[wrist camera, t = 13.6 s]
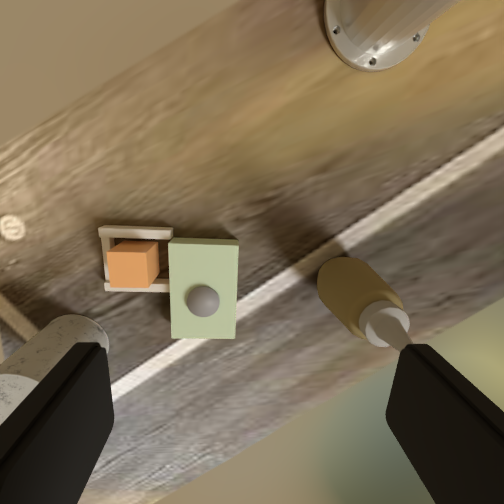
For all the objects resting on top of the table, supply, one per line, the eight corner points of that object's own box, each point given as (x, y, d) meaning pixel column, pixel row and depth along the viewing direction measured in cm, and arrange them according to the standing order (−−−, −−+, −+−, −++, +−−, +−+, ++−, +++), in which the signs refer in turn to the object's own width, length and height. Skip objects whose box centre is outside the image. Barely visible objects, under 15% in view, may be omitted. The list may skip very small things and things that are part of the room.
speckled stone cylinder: (105, 314, 40) (53, 373, 29) (112, 368, 43) (67, 442, 31) (38, 313, 40) (-44, 374, 28) (49, 368, 42) (-22, 444, 31)
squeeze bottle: (301, 291, 41) (350, 377, 24) (322, 242, 39) (391, 298, 22) (348, 305, 43) (426, 396, 25) (371, 258, 41) (472, 323, 23)
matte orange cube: (124, 240, 38) (106, 251, 32) (158, 241, 38) (146, 252, 33) (126, 271, 39) (110, 287, 34) (159, 272, 39) (148, 288, 34)
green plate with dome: (105, 224, 37) (91, 230, 33) (238, 229, 38) (239, 236, 34) (115, 325, 41) (104, 340, 37) (234, 326, 42) (234, 341, 39)
